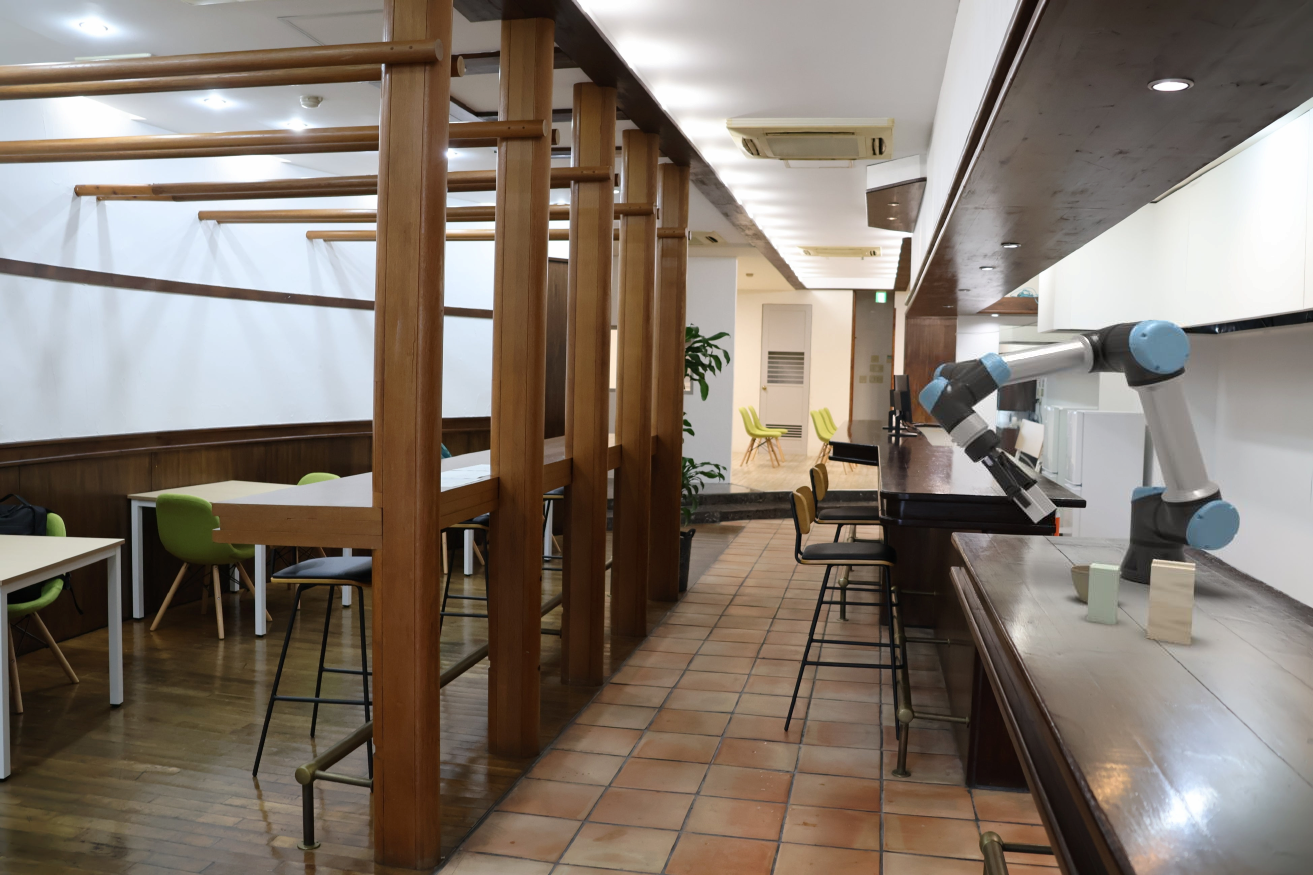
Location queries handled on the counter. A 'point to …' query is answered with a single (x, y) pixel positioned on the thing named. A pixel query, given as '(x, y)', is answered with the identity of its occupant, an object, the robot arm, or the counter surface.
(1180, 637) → the tower base
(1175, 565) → the tower top
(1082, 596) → the flower pot
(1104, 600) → the sage block
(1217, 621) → the counter surface
